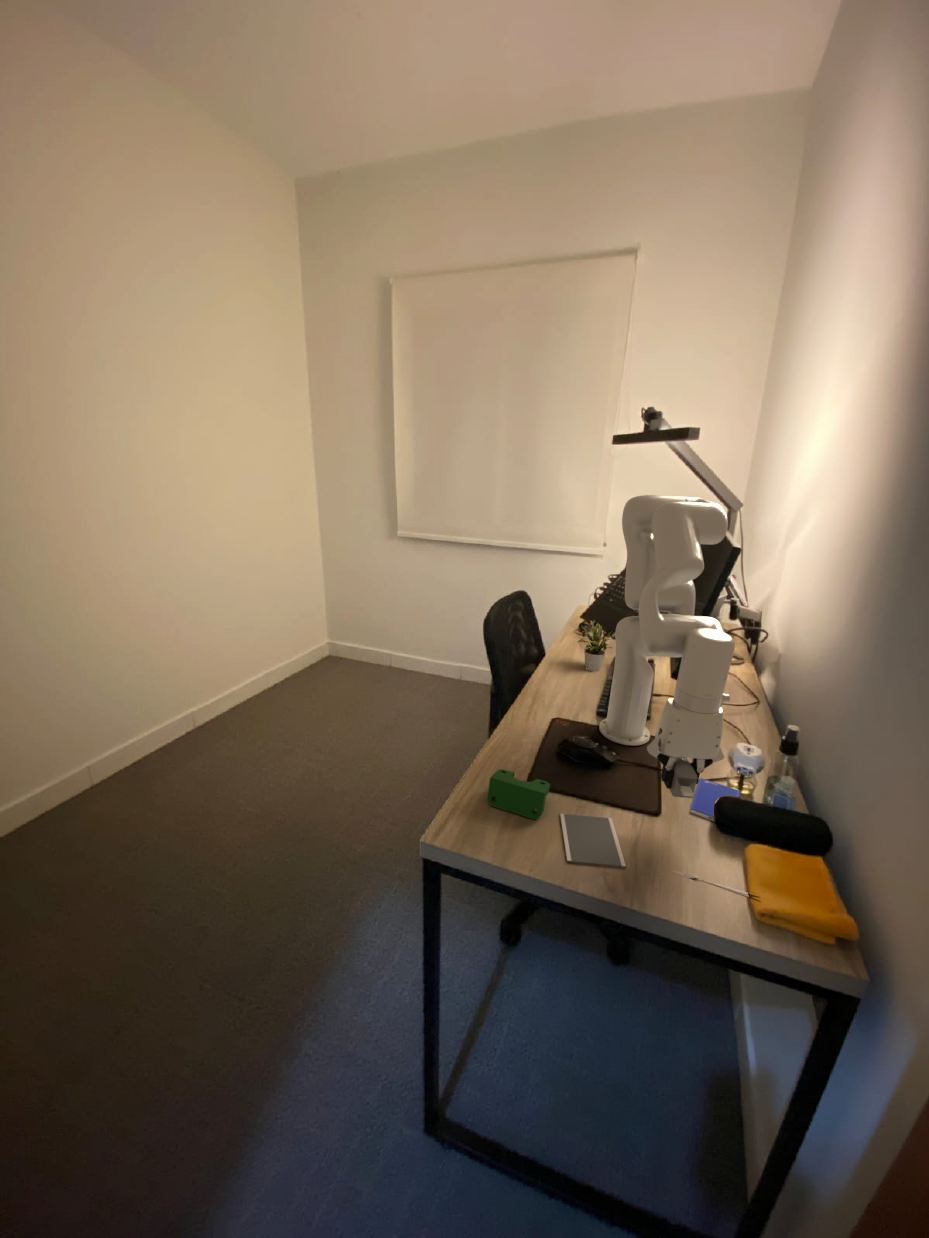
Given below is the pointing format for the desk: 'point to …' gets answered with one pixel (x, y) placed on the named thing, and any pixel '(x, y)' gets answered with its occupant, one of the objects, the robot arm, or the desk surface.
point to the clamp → (517, 794)
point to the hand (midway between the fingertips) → (677, 784)
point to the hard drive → (709, 797)
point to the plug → (683, 779)
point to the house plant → (594, 649)
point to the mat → (591, 841)
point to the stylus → (713, 884)
